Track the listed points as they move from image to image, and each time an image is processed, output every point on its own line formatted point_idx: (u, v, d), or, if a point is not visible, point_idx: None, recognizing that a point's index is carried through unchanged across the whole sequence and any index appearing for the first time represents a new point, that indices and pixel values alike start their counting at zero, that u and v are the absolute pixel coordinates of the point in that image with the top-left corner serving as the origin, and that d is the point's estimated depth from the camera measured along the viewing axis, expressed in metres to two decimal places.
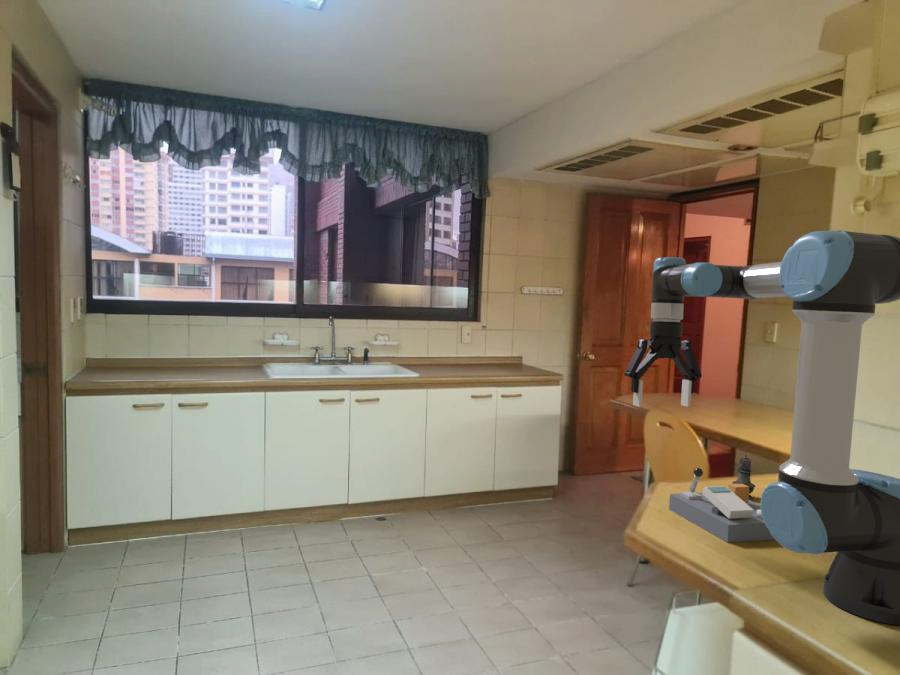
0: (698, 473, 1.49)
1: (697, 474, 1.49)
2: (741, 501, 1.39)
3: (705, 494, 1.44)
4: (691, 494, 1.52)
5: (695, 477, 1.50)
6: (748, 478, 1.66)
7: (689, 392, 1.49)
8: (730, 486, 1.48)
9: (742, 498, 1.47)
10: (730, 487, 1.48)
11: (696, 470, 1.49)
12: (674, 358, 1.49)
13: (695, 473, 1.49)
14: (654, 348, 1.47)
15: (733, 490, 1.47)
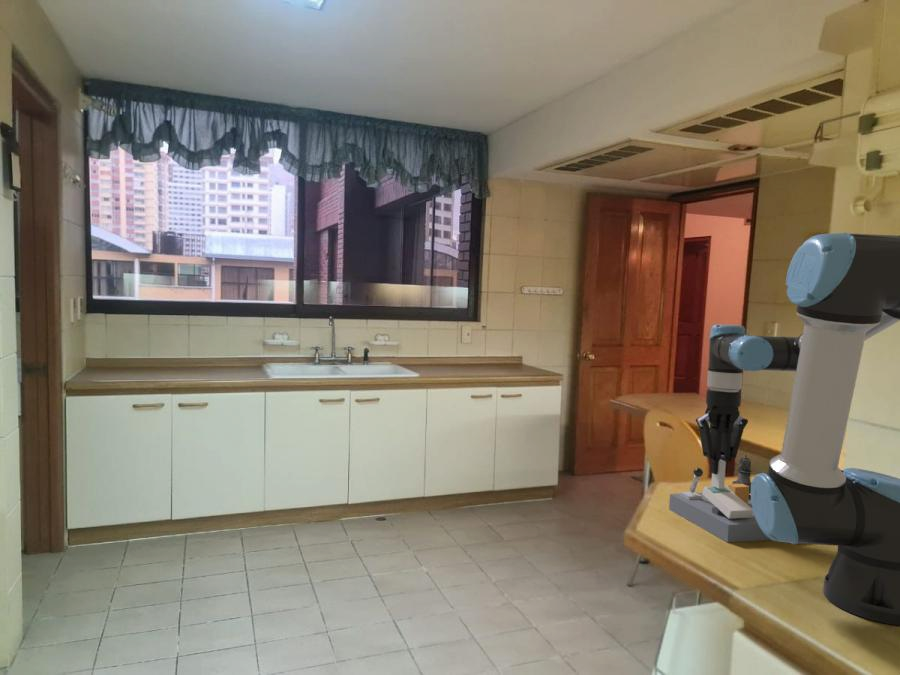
0: (698, 473, 1.49)
1: (697, 474, 1.49)
2: (741, 501, 1.39)
3: (705, 494, 1.44)
4: (691, 494, 1.52)
5: (695, 477, 1.50)
6: (748, 478, 1.66)
7: (723, 473, 1.43)
8: (730, 486, 1.48)
9: (742, 498, 1.47)
10: (730, 487, 1.48)
11: (696, 470, 1.49)
12: None
13: (695, 473, 1.49)
14: (711, 418, 1.41)
15: (733, 490, 1.47)
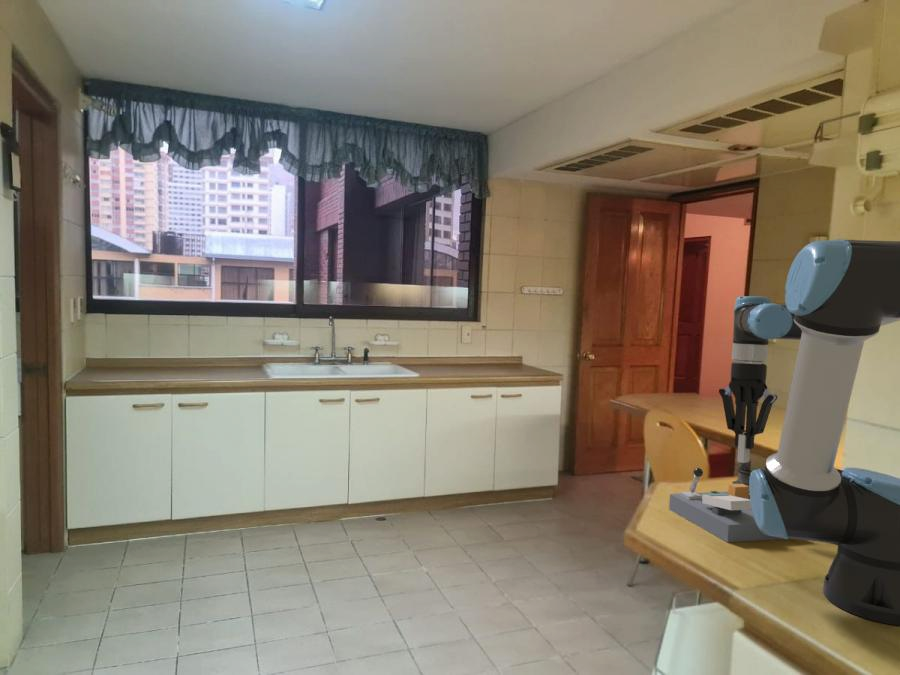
0: (698, 473, 1.49)
1: (697, 474, 1.49)
2: (740, 498, 1.40)
3: (705, 501, 1.44)
4: (691, 494, 1.52)
5: (695, 477, 1.50)
6: (748, 478, 1.66)
7: (742, 447, 1.41)
8: (730, 486, 1.48)
9: None
10: (730, 487, 1.48)
11: (696, 470, 1.49)
12: None
13: (695, 473, 1.49)
14: (731, 389, 1.43)
15: (733, 490, 1.47)
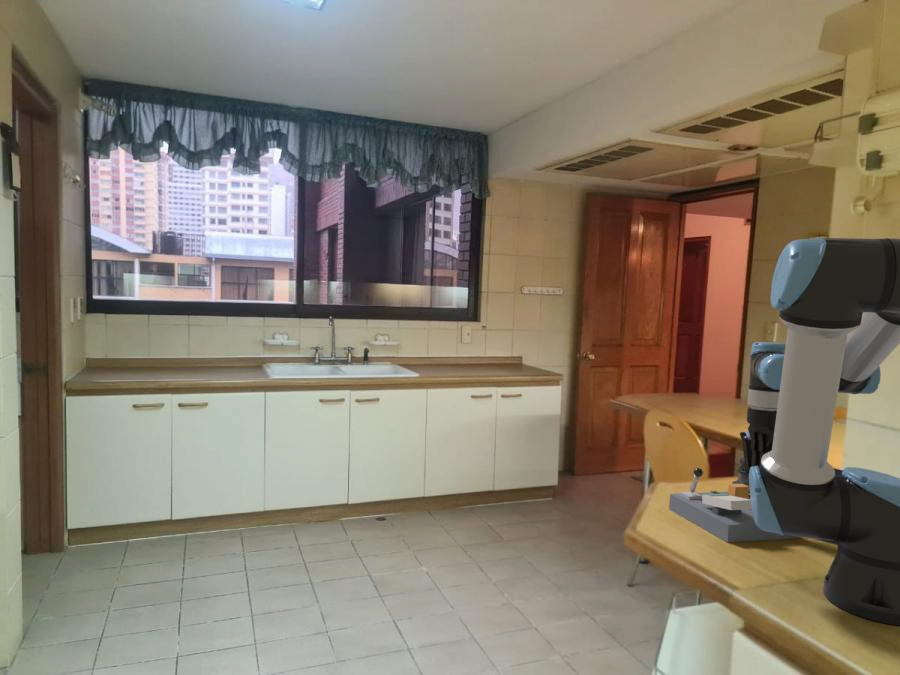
0: (698, 473, 1.49)
1: (697, 474, 1.49)
2: (740, 498, 1.40)
3: (705, 501, 1.44)
4: (691, 494, 1.52)
5: (695, 477, 1.50)
6: (748, 478, 1.66)
7: None
8: (730, 486, 1.48)
9: None
10: (730, 487, 1.48)
11: (696, 470, 1.49)
12: None
13: (695, 473, 1.49)
14: (749, 433, 1.44)
15: (733, 490, 1.47)
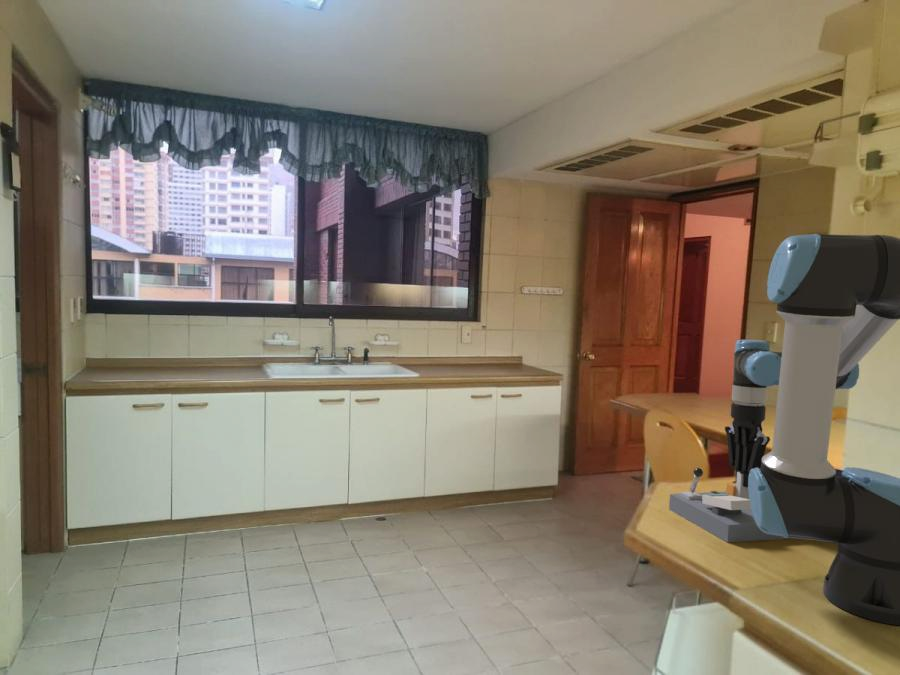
0: (698, 473, 1.49)
1: (697, 474, 1.49)
2: (740, 498, 1.40)
3: (705, 501, 1.44)
4: (691, 494, 1.52)
5: (695, 477, 1.50)
6: None
7: (739, 484, 1.46)
8: (728, 485, 1.49)
9: None
10: (728, 486, 1.49)
11: (696, 470, 1.49)
12: None
13: (695, 473, 1.49)
14: (733, 428, 1.49)
15: (731, 489, 1.48)
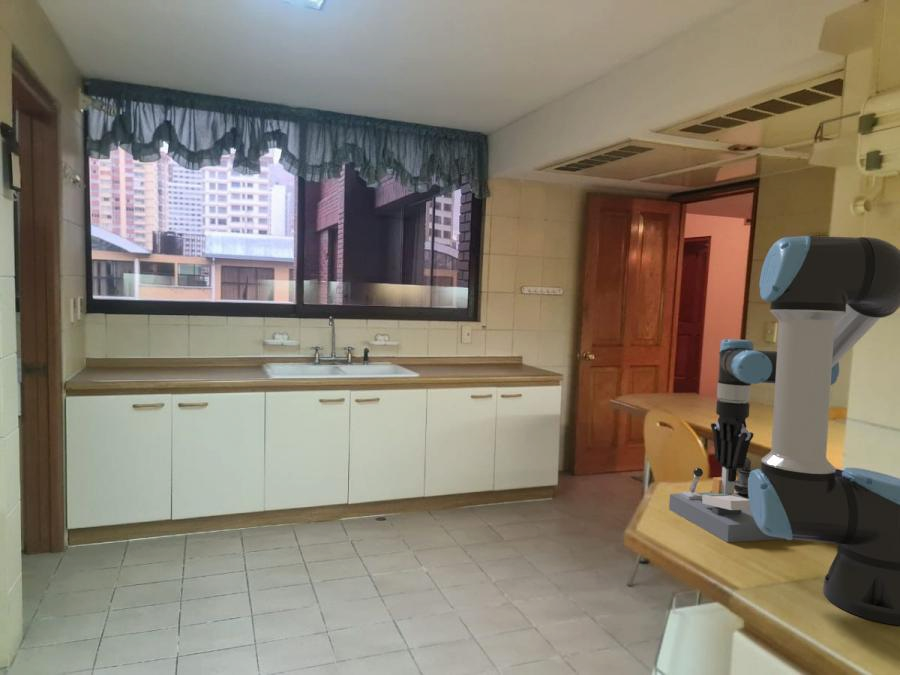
0: (698, 473, 1.49)
1: (697, 474, 1.49)
2: (740, 498, 1.40)
3: (705, 501, 1.44)
4: (691, 494, 1.52)
5: (695, 477, 1.50)
6: None
7: (724, 479, 1.51)
8: (714, 479, 1.54)
9: None
10: (714, 480, 1.54)
11: (696, 470, 1.49)
12: None
13: (695, 473, 1.49)
14: (719, 424, 1.55)
15: (717, 483, 1.53)
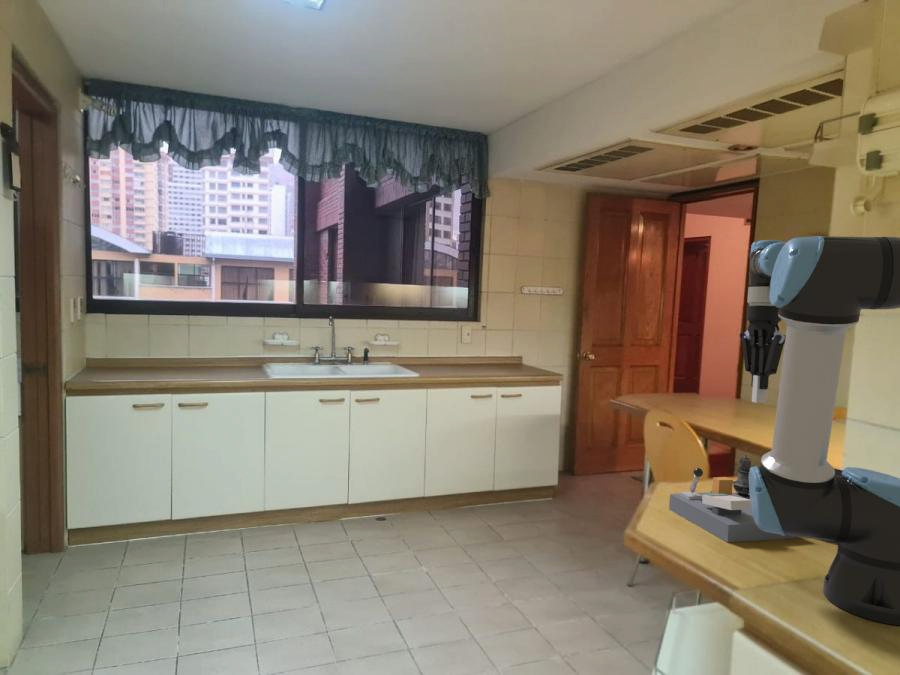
0: (698, 473, 1.49)
1: (697, 474, 1.49)
2: (740, 498, 1.40)
3: (705, 501, 1.44)
4: (691, 494, 1.52)
5: (695, 477, 1.50)
6: (748, 478, 1.66)
7: (755, 387, 1.45)
8: (714, 479, 1.54)
9: (726, 491, 1.53)
10: (714, 480, 1.54)
11: (696, 470, 1.49)
12: None
13: (695, 473, 1.49)
14: (749, 333, 1.48)
15: (717, 483, 1.53)
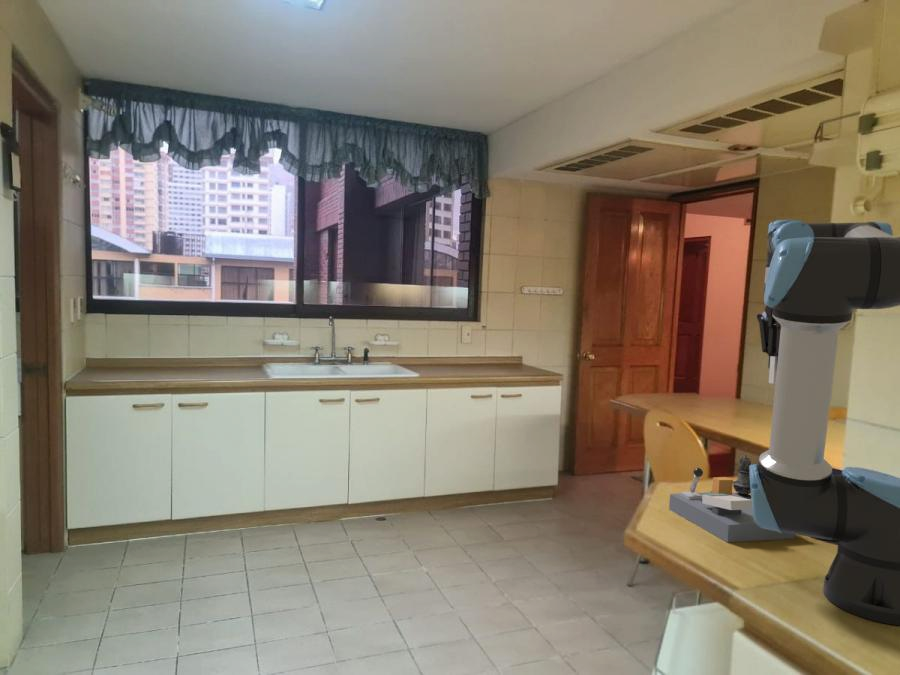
0: (698, 473, 1.49)
1: (697, 474, 1.49)
2: (740, 498, 1.40)
3: (705, 501, 1.44)
4: (691, 494, 1.52)
5: (695, 477, 1.50)
6: (748, 478, 1.66)
7: (772, 368, 1.45)
8: (714, 479, 1.54)
9: (726, 491, 1.53)
10: (714, 480, 1.54)
11: (696, 470, 1.49)
12: None
13: (695, 473, 1.49)
14: (766, 314, 1.48)
15: (717, 483, 1.53)
